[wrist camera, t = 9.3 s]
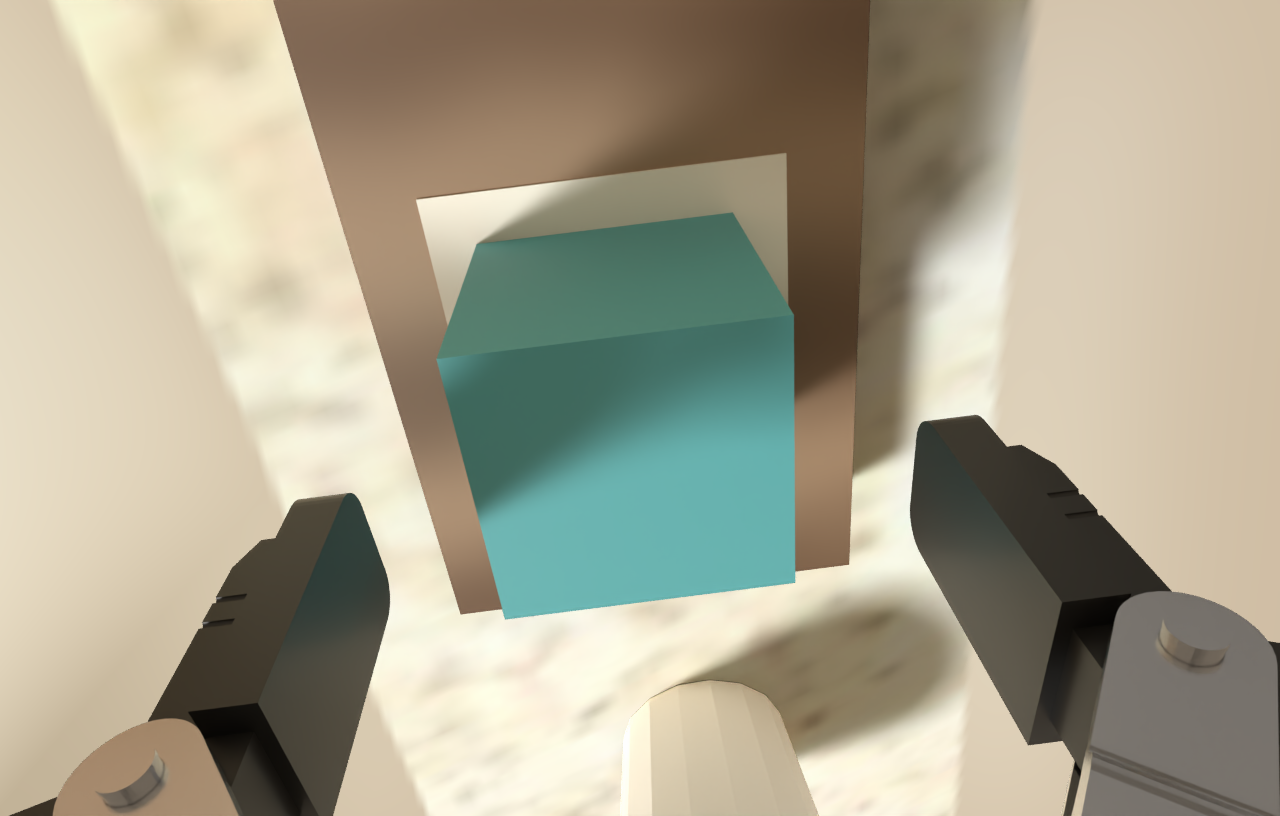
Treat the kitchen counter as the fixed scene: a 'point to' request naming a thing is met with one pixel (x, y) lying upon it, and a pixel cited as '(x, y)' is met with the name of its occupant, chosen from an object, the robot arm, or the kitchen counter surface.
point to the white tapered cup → (711, 756)
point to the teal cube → (625, 414)
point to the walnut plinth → (593, 184)
